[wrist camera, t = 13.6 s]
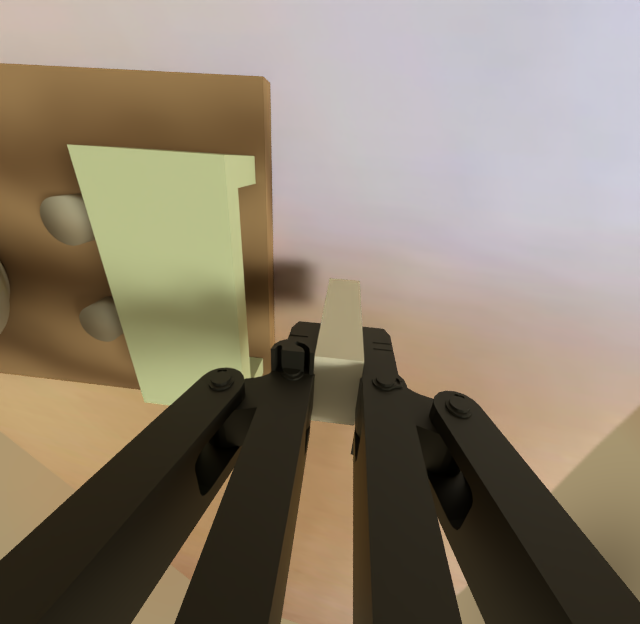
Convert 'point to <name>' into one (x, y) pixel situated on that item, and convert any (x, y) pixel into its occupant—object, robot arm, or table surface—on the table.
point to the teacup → (4, 298)
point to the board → (53, 174)
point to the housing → (171, 259)
